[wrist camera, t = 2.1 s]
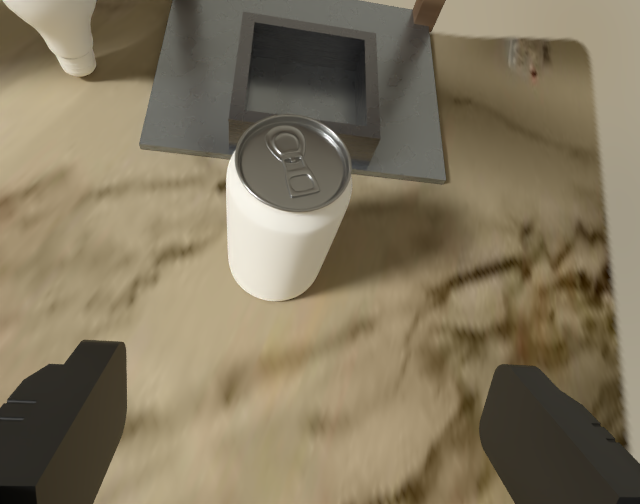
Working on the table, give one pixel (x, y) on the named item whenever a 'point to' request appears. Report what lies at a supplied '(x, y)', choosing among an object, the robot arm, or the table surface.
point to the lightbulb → (62, 30)
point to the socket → (299, 80)
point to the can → (284, 203)
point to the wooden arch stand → (427, 12)
